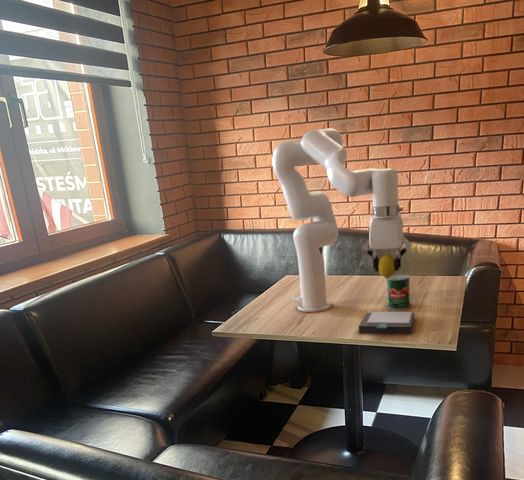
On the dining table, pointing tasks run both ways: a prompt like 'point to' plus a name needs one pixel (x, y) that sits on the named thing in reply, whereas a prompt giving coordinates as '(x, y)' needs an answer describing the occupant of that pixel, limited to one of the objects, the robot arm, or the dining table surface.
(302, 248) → the robot arm
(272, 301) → the dining table surface
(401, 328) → the scale
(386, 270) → the lemon
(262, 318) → the dining table surface
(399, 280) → the canned tomato
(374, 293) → the dining table surface
